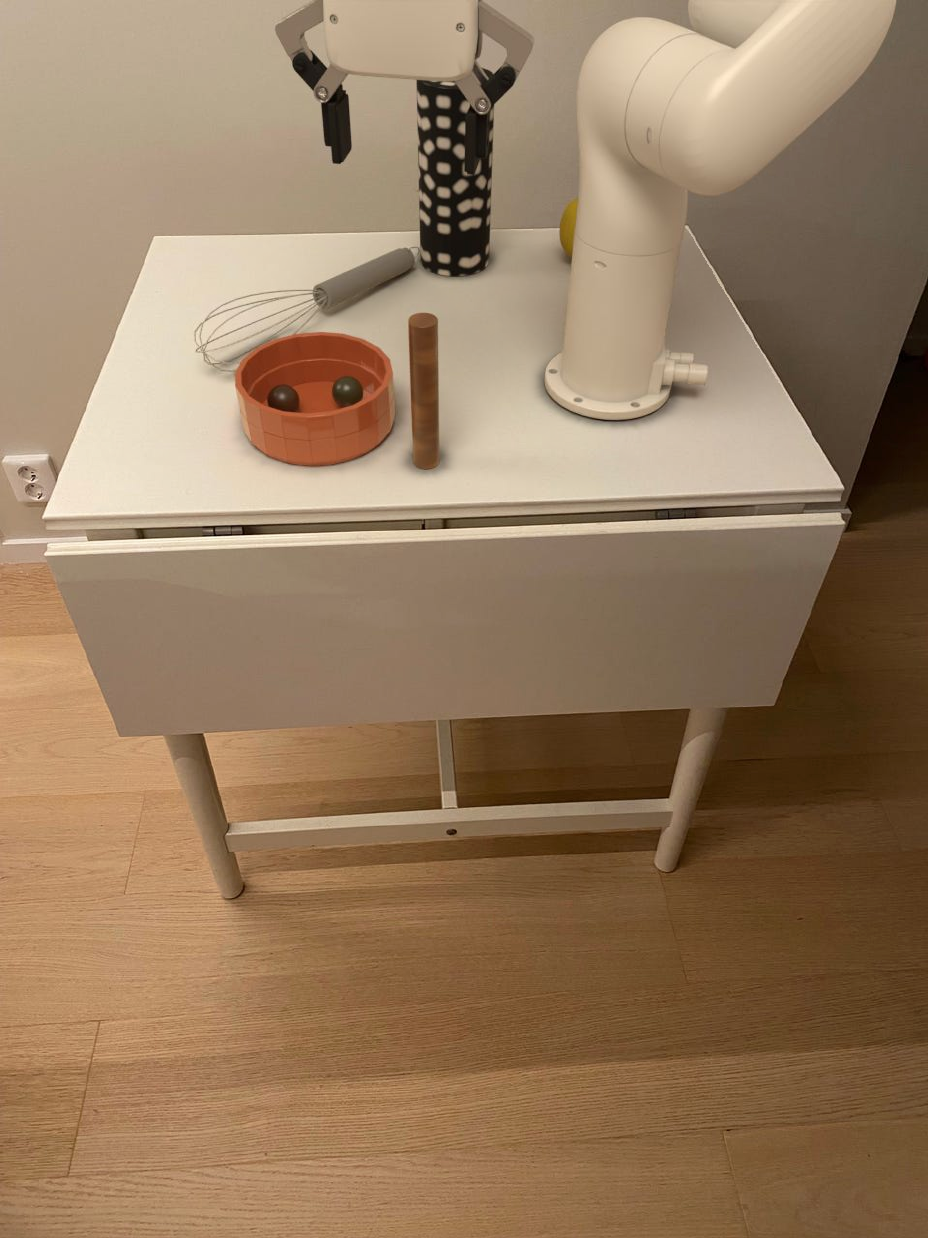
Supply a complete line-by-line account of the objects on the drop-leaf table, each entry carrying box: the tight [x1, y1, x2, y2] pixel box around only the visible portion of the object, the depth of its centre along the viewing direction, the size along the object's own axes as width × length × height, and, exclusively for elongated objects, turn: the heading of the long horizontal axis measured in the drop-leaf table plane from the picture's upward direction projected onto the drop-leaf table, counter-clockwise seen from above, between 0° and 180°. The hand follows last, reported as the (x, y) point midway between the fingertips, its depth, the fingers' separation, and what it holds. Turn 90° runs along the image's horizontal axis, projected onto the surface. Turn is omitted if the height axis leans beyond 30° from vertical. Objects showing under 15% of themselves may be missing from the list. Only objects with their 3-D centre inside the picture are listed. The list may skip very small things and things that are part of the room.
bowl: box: [234, 331, 396, 467], centre depth 86 cm, size 14×14×6 cm
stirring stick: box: [407, 312, 440, 470], centre depth 79 cm, size 2×2×14 cm
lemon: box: [558, 197, 578, 258], centre depth 109 cm, size 6×6×8 cm
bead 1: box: [267, 384, 300, 412], centre depth 87 cm, size 3×3×3 cm
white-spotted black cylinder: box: [415, 66, 495, 277], centre depth 104 cm, size 8×8×20 cm
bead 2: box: [332, 376, 363, 408], centre depth 88 cm, size 3×3×3 cm
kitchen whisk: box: [193, 246, 420, 373], centre depth 99 cm, size 6×34×6 cm, turn 143°
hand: (406, 162), depth 67 cm, fingers open, 9 cm apart
